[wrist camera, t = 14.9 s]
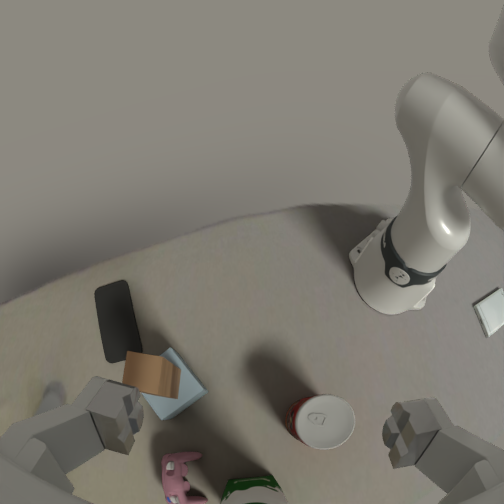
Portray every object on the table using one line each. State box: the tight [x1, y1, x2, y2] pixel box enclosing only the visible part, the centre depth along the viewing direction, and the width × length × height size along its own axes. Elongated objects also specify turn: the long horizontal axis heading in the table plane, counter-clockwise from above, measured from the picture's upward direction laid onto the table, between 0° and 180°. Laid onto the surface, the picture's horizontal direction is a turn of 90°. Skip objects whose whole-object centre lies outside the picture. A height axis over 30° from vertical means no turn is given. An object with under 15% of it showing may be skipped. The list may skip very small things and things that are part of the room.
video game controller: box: [161, 452, 208, 504], centre depth 33 cm, size 10×5×7 cm, turn 5°
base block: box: [142, 347, 209, 420], centre depth 41 cm, size 8×8×6 cm
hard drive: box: [473, 288, 504, 338], centre depth 49 cm, size 2×8×12 cm
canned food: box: [285, 394, 355, 450], centre depth 36 cm, size 8×8×11 cm
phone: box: [95, 281, 142, 363], centre depth 49 cm, size 7×1×15 cm
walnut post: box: [122, 351, 181, 399], centre depth 34 cm, size 4×4×10 cm
